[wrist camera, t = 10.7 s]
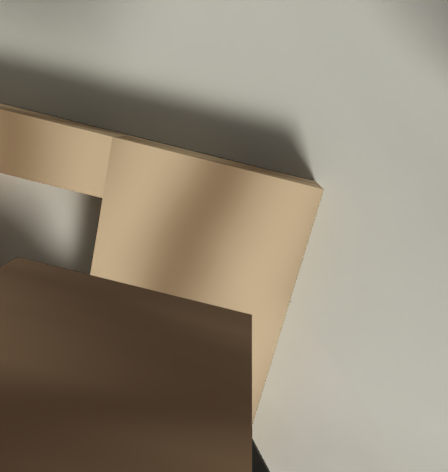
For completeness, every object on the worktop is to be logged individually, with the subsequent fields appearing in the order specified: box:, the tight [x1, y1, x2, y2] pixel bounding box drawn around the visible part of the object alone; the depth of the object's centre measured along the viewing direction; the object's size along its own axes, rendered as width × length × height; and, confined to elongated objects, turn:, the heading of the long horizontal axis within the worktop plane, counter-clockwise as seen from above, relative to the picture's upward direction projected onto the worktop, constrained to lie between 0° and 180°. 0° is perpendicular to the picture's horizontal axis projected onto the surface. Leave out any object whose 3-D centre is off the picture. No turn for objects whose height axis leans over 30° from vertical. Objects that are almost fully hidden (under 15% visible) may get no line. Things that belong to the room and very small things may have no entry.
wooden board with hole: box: [0, 103, 324, 424], centre depth 20 cm, size 20×16×2 cm
